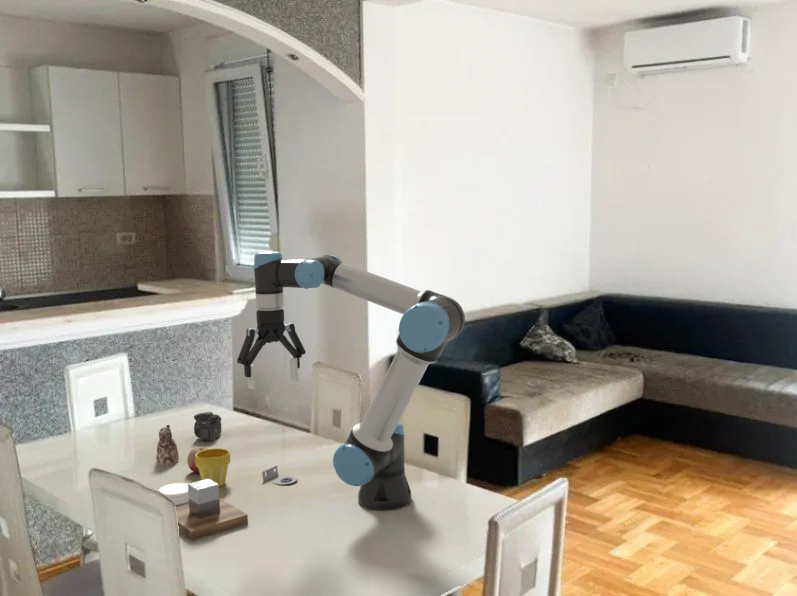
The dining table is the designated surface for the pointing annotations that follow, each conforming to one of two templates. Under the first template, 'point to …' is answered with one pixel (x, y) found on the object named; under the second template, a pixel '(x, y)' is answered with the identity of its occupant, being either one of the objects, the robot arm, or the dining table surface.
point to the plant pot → (213, 464)
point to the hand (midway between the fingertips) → (273, 384)
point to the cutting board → (209, 521)
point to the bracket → (280, 481)
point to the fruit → (192, 458)
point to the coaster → (176, 492)
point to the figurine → (166, 448)
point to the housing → (204, 498)
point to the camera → (207, 426)
